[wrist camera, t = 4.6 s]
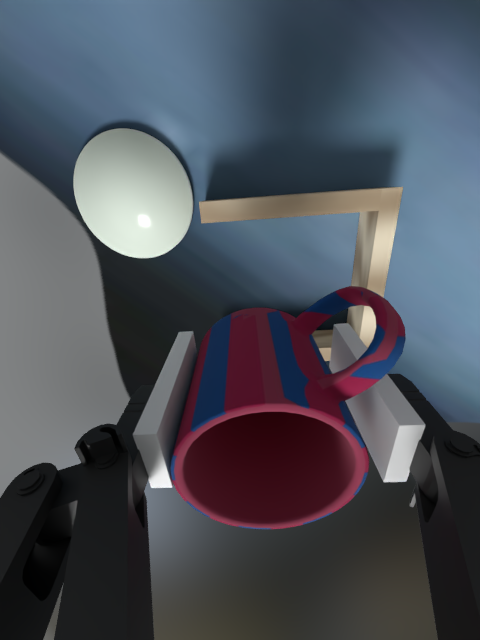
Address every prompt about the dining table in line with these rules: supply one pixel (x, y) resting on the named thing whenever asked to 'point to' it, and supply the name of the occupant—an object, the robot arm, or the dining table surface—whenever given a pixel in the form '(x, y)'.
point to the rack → (371, 203)
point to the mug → (278, 415)
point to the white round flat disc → (133, 193)
